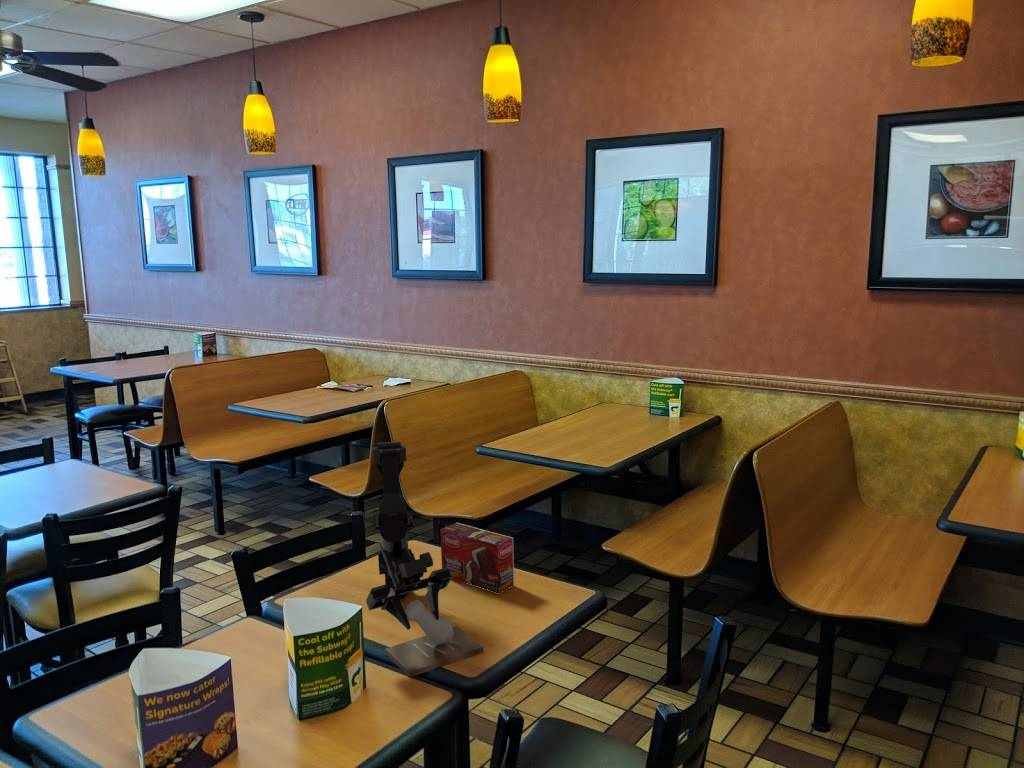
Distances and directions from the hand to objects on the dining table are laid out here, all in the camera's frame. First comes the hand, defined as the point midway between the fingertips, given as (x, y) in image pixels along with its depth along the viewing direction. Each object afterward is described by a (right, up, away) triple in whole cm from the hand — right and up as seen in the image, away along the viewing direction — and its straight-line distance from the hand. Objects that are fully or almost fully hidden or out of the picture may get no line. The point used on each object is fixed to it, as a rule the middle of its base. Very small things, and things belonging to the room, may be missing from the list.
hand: (423, 624), depth 167 cm
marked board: (+2, -8, +5) cm, 9 cm away
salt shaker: (+5, -5, +6) cm, 9 cm away
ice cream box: (+10, -1, +42) cm, 43 cm away
